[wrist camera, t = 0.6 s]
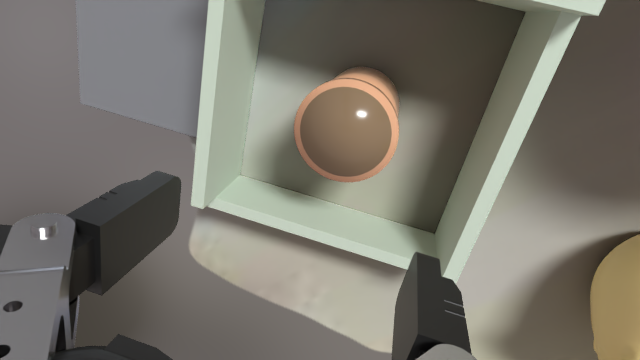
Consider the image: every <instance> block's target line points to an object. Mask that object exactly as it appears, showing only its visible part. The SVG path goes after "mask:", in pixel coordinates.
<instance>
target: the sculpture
mask: <svg viewBox="0 0 640 360" xmlns="http://www.w3.org/2000/svg"><path fill="white" fill-rule="evenodd" d="M590 308H591V323H592V329H593V334H594V343H593V346H594V350H595V352H596V353H597V355H598V360H640V234H639V235H637V236H634V237H632V238H630V239H628V240H626V241H624V242H623V243H621V244H619V245H618V246H617V247H615V248H614V249H613V250H612V251H611V252H610V253H609V254H608V255H607V256H606V257H605V258H604V259H603V261H602V262H601V263H600V265H599V266H598V268H597V270H596V272H595V275H594V278H593V281H592V285H591V293H590Z"/></svg>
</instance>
